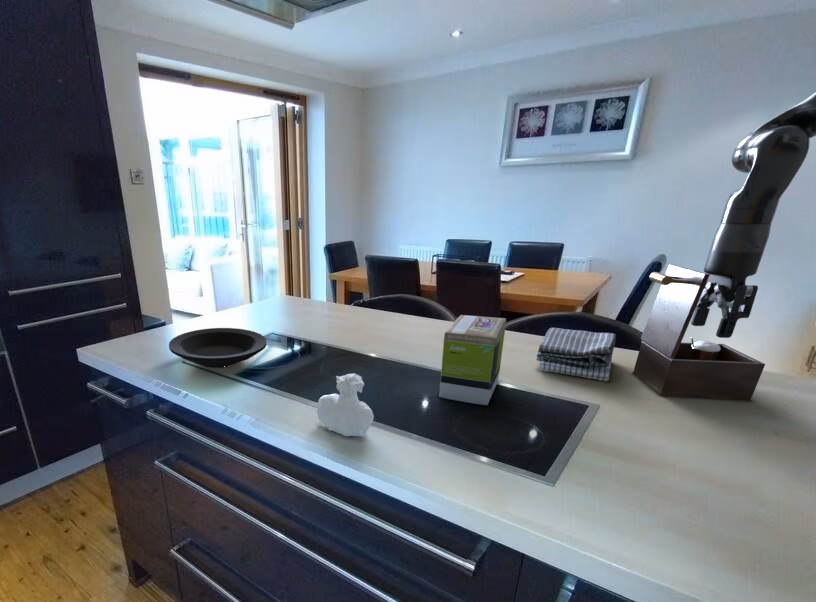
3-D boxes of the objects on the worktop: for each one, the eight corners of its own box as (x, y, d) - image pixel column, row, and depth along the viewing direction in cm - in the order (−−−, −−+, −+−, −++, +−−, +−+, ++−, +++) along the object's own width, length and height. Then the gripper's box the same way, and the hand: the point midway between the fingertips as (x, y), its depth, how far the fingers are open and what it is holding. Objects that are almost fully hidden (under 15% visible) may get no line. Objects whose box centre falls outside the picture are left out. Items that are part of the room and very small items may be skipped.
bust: (373, 447, 79) (395, 389, 81) (356, 438, 73) (379, 376, 75) (321, 428, 86) (341, 375, 88) (301, 418, 80) (323, 362, 82)
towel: (612, 359, 110) (620, 329, 107) (607, 384, 96) (616, 350, 93) (544, 349, 118) (550, 321, 115) (531, 371, 105) (537, 339, 102)
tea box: (453, 374, 104) (460, 312, 98) (499, 381, 100) (509, 317, 94) (437, 398, 92) (444, 330, 87) (488, 407, 88) (498, 336, 82)
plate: (154, 360, 120) (151, 340, 117) (228, 340, 134) (226, 322, 132) (208, 389, 100) (205, 366, 98) (287, 362, 115) (286, 342, 113)
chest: (711, 377, 98) (723, 343, 95) (750, 400, 87) (765, 364, 84) (632, 373, 102) (641, 341, 98) (660, 395, 90) (671, 360, 87)
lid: (673, 264, 92) (644, 262, 92) (710, 274, 80) (676, 271, 81) (644, 339, 98) (617, 336, 99) (674, 358, 87) (644, 354, 88)
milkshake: (671, 378, 96) (685, 334, 92) (699, 379, 95) (714, 335, 91) (682, 386, 92) (698, 340, 88) (712, 387, 91) (729, 341, 87)
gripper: (789, 252, 76) (756, 342, 82) (735, 244, 89) (709, 322, 95) (738, 253, 77) (709, 341, 84) (692, 244, 90) (669, 321, 96)
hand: (709, 331), depth 89 cm, fingers open, 8 cm apart
